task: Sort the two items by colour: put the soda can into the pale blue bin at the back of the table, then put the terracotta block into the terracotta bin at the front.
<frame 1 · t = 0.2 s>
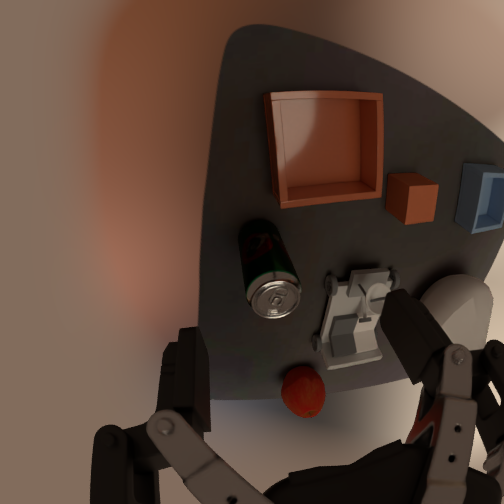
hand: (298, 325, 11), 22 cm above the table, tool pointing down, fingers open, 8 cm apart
apple: (298, 371, 50), on the table
blue bin: (476, 191, 34), on the table
toy car: (352, 300, 42), on the table
vase: (435, 297, 45), on the table
soda can: (258, 235, 34), on the table
terracotta bin: (318, 141, 29), on the table
block: (401, 190, 33), on the table
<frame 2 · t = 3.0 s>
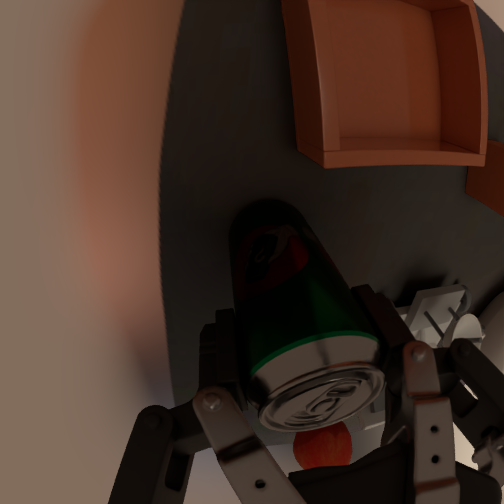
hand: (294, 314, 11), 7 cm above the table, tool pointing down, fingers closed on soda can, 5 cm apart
apple: (315, 417, 34), on the table
toy car: (402, 330, 26), on the table
vase: (489, 315, 29), on the table
soda can: (267, 232, 18), on the table, touching gripper
terracotta bin: (377, 61, 12), on the table
block: (483, 165, 17), on the table
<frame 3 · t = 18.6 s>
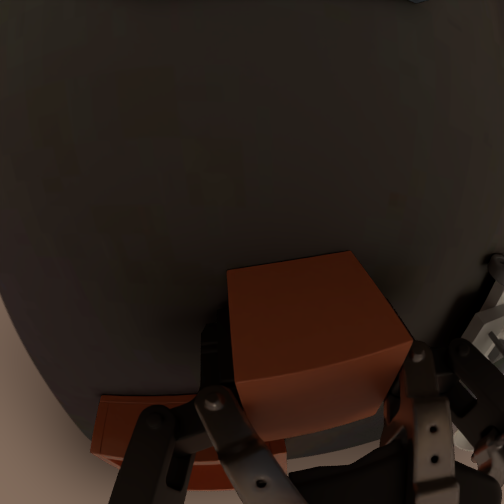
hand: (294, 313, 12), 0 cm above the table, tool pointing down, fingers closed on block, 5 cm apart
toy car: (491, 309, 16), on the table
terracotta bin: (202, 428, 18), on the table
block: (292, 307, 12), on the table, touching gripper
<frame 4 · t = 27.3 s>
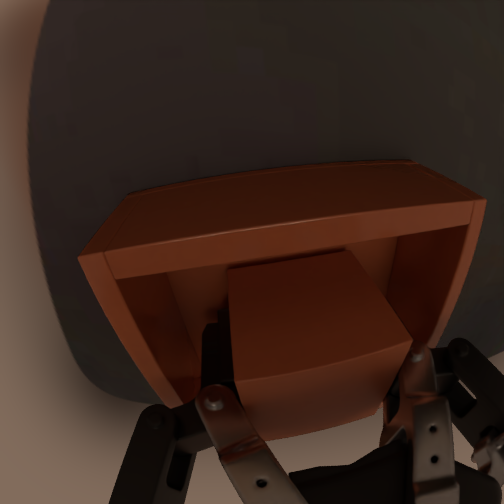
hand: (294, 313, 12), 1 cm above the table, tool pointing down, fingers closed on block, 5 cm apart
terracotta bin: (289, 291, 13), on the table
block: (292, 306, 12), point 1 cm above the table, touching gripper
when the fingers open (4 cm above the table, at t = 38.6 s): block stays where it is, resting on terracotta bin.
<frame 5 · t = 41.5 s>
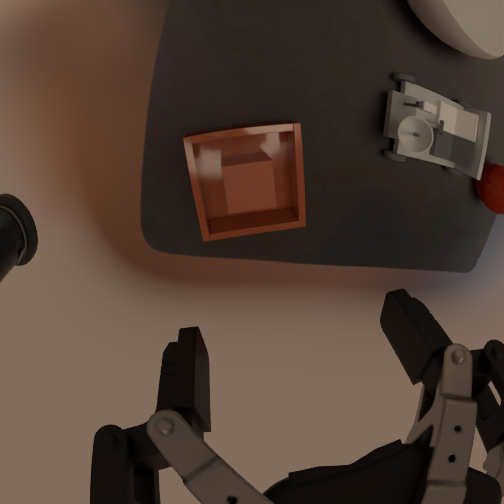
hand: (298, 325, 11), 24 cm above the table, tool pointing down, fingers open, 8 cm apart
apple: (480, 178, 35), on the table
toy car: (419, 123, 30), on the table
vase: (430, 4, 19), on the table
terracotta bin: (245, 172, 31), on the table
block: (245, 174, 31), point 1 cm above the table, touching terracotta bin
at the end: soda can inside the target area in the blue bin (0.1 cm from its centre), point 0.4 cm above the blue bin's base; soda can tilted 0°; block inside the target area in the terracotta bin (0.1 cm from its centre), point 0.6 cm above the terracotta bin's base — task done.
